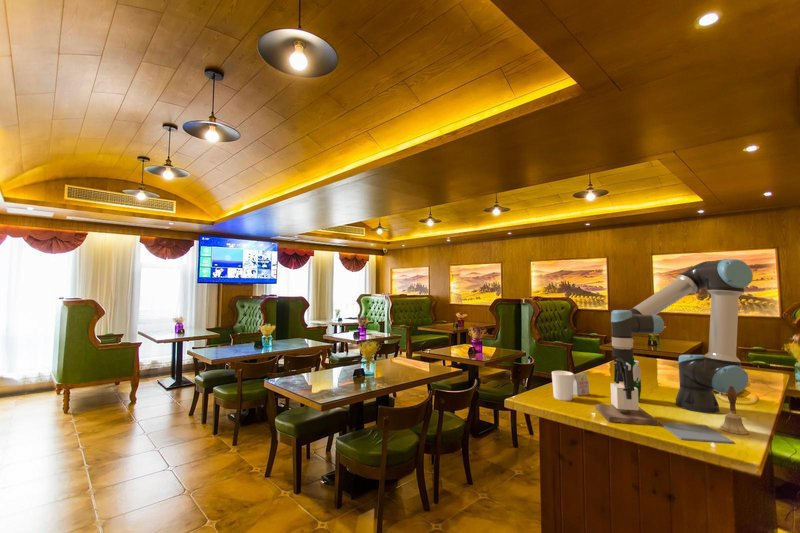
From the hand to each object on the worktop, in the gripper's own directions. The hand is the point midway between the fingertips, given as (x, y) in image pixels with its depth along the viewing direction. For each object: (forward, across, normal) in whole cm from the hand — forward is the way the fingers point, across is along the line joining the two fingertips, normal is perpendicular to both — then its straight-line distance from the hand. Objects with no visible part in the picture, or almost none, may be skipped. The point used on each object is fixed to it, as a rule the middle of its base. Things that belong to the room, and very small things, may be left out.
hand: (624, 403), depth 153 cm
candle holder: (+5, +22, +19) cm, 30 cm away
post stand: (+5, 0, 0) cm, 5 cm away
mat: (+5, -14, -18) cm, 23 cm away
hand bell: (+5, -8, -34) cm, 35 cm away
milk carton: (+5, +27, -12) cm, 30 cm away
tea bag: (+5, +31, +9) cm, 33 cm away
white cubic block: (+1, 0, 0) cm, 1 cm away
